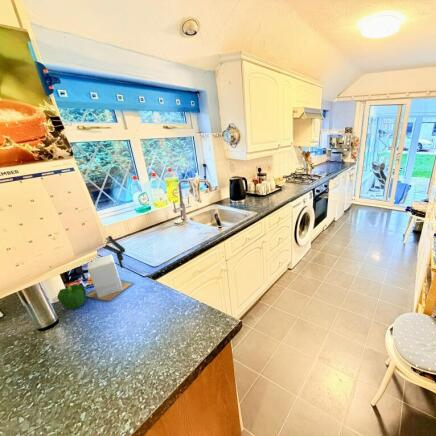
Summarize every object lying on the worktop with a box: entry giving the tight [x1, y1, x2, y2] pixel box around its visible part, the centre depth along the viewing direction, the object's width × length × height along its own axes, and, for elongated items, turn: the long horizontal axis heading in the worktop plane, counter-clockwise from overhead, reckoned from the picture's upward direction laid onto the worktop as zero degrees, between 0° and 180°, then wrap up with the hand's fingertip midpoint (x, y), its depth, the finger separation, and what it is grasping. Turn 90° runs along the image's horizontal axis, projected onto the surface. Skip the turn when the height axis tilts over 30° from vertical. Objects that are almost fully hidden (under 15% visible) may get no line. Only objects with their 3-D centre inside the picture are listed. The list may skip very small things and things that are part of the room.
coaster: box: [86, 281, 132, 302], centre depth 107 cm, size 12×12×1 cm
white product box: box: [87, 254, 124, 298], centre depth 104 cm, size 9×9×15 cm
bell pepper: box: [56, 283, 87, 310], centre depth 96 cm, size 8×8×10 cm
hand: (103, 272), depth 105 cm, fingers open, 13 cm apart
